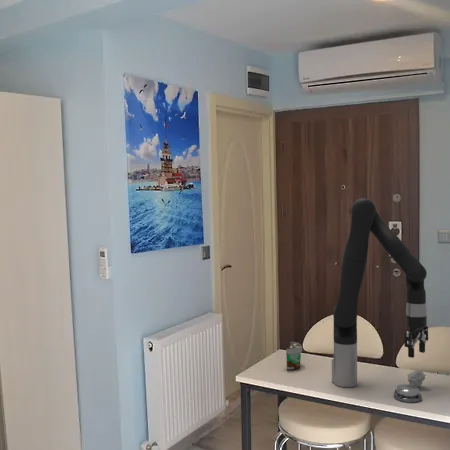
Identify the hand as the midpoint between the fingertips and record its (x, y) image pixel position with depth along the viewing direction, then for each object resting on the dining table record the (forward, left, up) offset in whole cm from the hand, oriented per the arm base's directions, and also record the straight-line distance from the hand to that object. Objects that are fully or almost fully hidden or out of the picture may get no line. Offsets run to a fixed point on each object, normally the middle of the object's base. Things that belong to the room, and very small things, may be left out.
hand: (416, 354), depth 212 cm
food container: (-49, -15, -13) cm, 53 cm away
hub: (+3, -12, -13) cm, 18 cm away
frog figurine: (0, 0, -13) cm, 13 cm away
